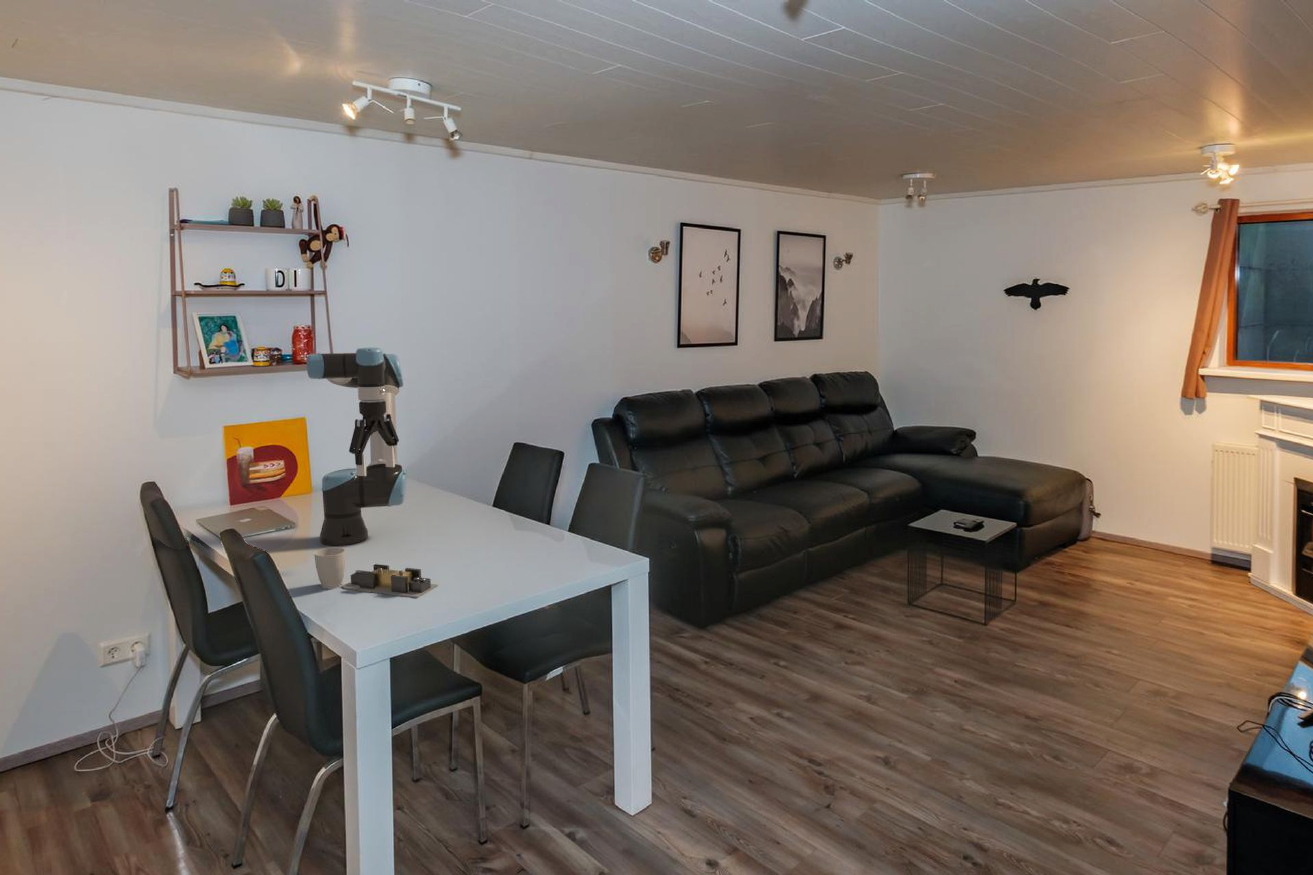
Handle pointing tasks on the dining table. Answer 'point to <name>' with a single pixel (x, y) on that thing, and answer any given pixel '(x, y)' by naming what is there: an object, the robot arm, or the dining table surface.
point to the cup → (330, 566)
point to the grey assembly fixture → (393, 580)
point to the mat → (389, 590)
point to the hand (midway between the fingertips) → (376, 471)
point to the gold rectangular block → (389, 577)
